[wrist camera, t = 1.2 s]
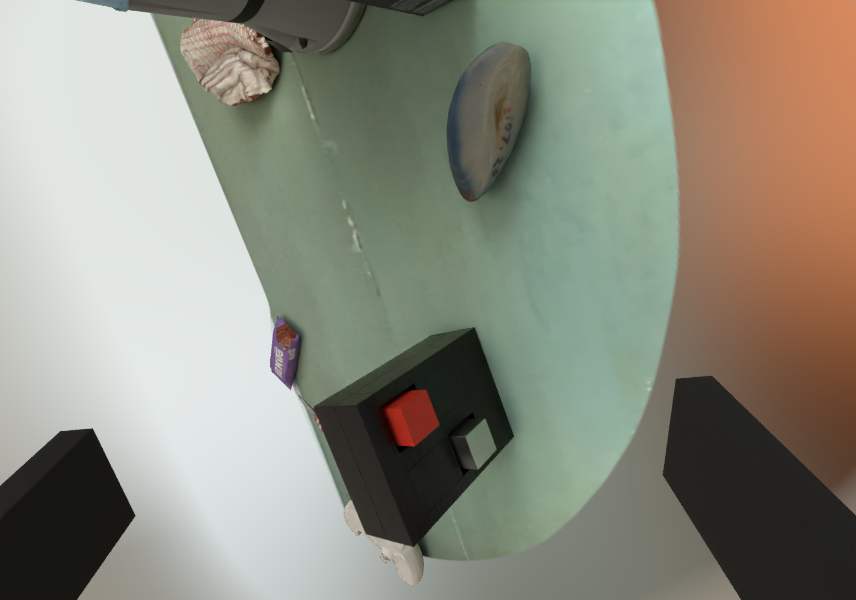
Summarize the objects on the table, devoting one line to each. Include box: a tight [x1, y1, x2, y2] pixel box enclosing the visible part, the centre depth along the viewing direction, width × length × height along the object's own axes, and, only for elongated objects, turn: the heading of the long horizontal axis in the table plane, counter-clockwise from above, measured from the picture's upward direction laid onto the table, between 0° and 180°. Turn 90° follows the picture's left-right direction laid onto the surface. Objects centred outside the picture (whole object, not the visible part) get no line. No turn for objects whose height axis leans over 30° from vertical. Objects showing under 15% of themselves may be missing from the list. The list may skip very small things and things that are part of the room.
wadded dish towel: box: [180, 18, 279, 106], centre depth 51 cm, size 15×6×14 cm
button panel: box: [313, 328, 514, 547], centre depth 42 cm, size 6×12×16 cm, turn 26°
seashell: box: [447, 43, 531, 202], centre depth 35 cm, size 6×9×10 cm
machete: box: [297, 394, 316, 417], centre depth 69 cm, size 14×2×1 cm, turn 71°
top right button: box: [381, 389, 439, 446], centre depth 37 cm, size 3×3×3 cm
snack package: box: [270, 316, 300, 390], centre depth 68 cm, size 12×2×5 cm
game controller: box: [344, 500, 424, 586], centre depth 65 cm, size 14×4×10 cm
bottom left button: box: [448, 418, 497, 470], centre depth 41 cm, size 3×3×3 cm
